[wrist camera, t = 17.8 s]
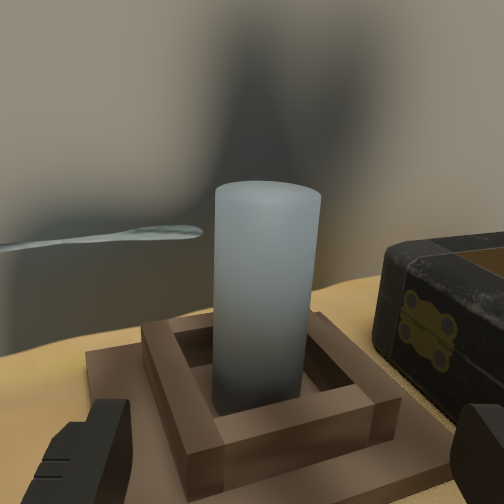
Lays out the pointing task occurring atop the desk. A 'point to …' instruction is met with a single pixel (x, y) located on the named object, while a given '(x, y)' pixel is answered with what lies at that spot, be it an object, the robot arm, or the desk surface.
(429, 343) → the cash box
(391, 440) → the holder
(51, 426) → the desk surface
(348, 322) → the desk surface
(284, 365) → the cylinder
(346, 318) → the desk surface
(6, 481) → the desk surface
